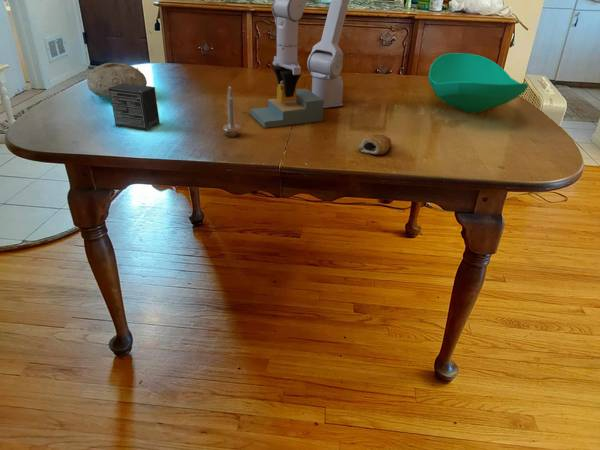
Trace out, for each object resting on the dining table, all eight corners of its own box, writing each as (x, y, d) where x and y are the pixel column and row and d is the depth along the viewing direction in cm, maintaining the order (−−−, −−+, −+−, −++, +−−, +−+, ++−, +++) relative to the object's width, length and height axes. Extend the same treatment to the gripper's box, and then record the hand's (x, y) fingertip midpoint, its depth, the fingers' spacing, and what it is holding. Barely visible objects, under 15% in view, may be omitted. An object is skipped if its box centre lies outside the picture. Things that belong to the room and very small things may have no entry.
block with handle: (291, 97, 134) (291, 78, 131) (296, 101, 131) (296, 81, 128) (276, 99, 132) (276, 79, 129) (281, 102, 130) (281, 82, 127)
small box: (161, 123, 127) (156, 86, 122) (147, 131, 122) (141, 92, 116) (129, 118, 130) (123, 81, 124) (114, 126, 125) (107, 87, 119)
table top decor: (413, 90, 163) (419, 51, 156) (490, 92, 164) (500, 54, 156) (441, 129, 130) (450, 82, 123) (537, 132, 130) (552, 85, 123)
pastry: (373, 140, 121) (375, 126, 119) (396, 146, 118) (399, 132, 116) (356, 151, 115) (358, 137, 113) (380, 158, 111) (382, 143, 109)
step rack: (305, 108, 142) (306, 88, 139) (322, 120, 133) (323, 99, 130) (250, 114, 136) (250, 94, 133) (264, 128, 127) (264, 106, 123)
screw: (222, 132, 123) (240, 131, 124) (223, 138, 119) (241, 138, 120) (219, 83, 116) (238, 83, 117) (220, 88, 112) (239, 88, 113)
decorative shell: (158, 91, 153) (153, 60, 148) (132, 108, 138) (126, 74, 133) (108, 87, 155) (102, 57, 150) (78, 103, 140) (70, 70, 135)
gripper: (264, 40, 128) (264, 89, 135) (283, 50, 117) (283, 103, 124) (287, 39, 130) (286, 86, 138) (308, 49, 119) (306, 100, 126)
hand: (286, 94), depth 131 cm, fingers closed on block with handle, 3 cm apart
